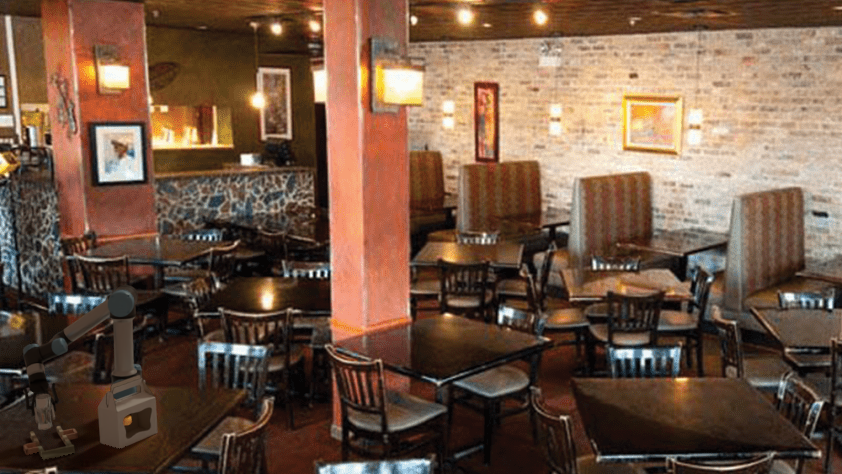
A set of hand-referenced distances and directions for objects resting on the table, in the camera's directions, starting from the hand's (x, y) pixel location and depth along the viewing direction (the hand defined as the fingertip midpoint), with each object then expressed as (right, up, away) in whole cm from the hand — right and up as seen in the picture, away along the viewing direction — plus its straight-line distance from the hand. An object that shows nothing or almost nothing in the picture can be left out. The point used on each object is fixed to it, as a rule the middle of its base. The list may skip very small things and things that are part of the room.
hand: (45, 419), depth 380 cm
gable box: (+36, -10, +5) cm, 38 cm away
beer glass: (-2, -5, +4) cm, 6 cm away
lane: (+4, -11, -3) cm, 12 cm away
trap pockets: (+3, -11, -2) cm, 11 cm away
